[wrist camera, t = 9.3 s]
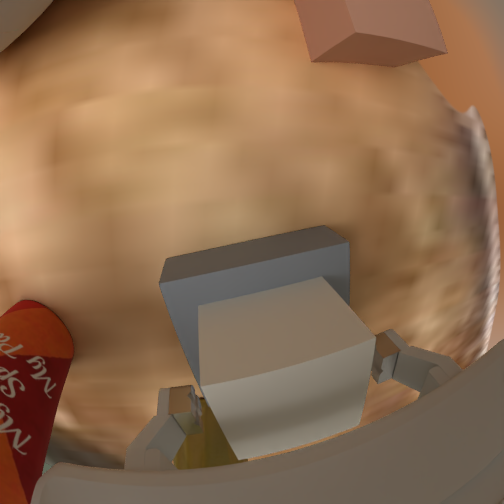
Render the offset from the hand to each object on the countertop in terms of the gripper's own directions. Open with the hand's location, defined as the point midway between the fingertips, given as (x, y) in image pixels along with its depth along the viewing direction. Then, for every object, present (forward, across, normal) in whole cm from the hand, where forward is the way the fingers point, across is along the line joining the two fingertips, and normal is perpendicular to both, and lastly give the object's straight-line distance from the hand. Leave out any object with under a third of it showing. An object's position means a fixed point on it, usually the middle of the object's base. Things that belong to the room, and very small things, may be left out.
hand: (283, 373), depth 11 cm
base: (+6, 0, 0) cm, 6 cm away
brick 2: (+6, -8, -17) cm, 20 cm away
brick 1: (+3, 0, 0) cm, 3 cm away
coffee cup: (+6, +16, -1) cm, 17 cm away
